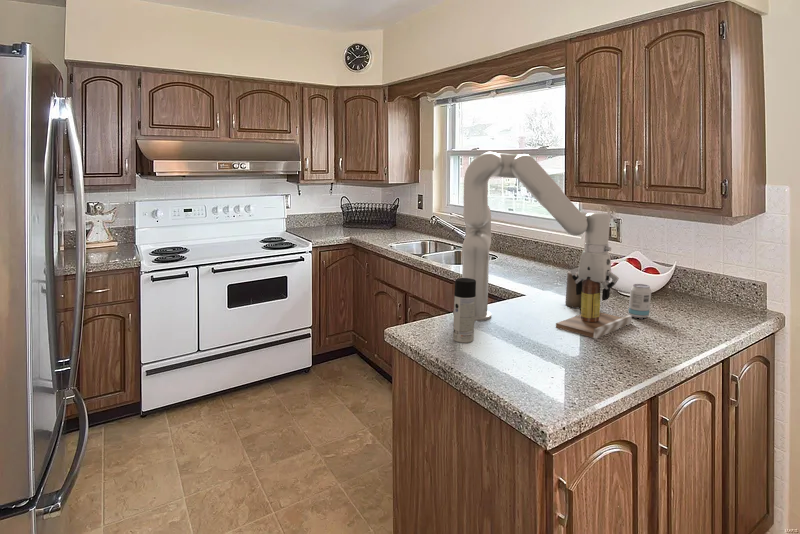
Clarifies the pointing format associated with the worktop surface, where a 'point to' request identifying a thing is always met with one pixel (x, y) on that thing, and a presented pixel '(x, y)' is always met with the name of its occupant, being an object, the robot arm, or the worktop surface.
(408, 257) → the worktop surface
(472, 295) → the spray can
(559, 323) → the shelf board
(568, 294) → the pillar candle
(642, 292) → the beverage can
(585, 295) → the sauce bottle
